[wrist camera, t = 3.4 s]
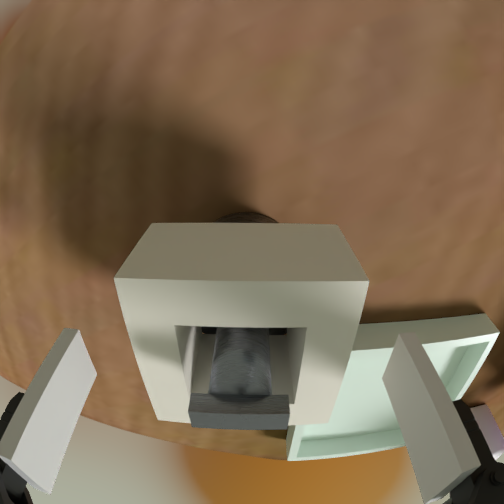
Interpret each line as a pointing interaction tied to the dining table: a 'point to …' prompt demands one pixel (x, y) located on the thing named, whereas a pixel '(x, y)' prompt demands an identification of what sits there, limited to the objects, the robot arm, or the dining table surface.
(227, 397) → the dark grey stemmed piece
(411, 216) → the dining table surface
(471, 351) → the tray
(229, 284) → the cream square-holed block
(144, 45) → the dining table surface
